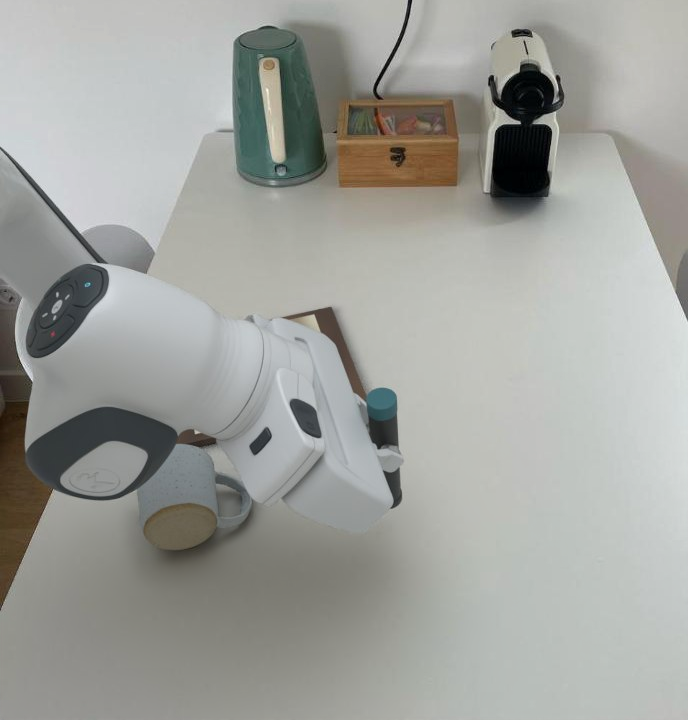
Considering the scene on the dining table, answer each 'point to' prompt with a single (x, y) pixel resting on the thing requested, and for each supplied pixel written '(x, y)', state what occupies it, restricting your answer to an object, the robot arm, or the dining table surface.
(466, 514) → the dining table surface
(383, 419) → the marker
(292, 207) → the dining table surface
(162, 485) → the ceramic mug
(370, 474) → the robot arm
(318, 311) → the brown framed board
